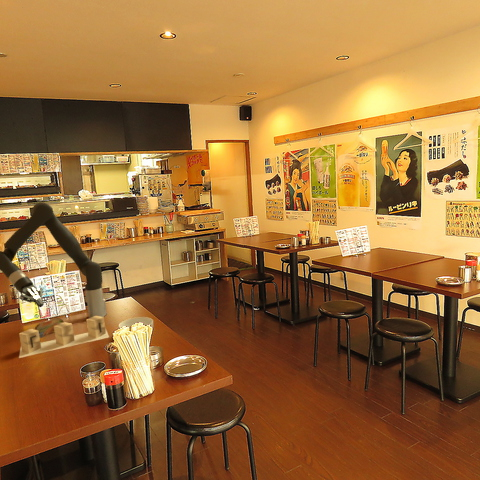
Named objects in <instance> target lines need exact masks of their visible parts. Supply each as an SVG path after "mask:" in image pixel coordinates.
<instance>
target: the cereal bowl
mask: <svg viewBox="0 0 480 480" xmlns="http://www.w3.org/2000/svg"><path fill="white" fill-rule="evenodd" d="M137 322H143V324H144V325H148V324H150V325H151V327H152V329H154V319H152V318H151V317H147V316H139V317H138V316H136V317H130V318H127V319H125V320H123V321H121V322H120V323H119V324H118V330H119V329H120V328H121V327H123V326H127V327H130V326H132V325H133V324H134V323H137Z"/></svg>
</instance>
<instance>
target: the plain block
mask: <svg viewBox="0 0 480 480" xmlns="http://www.w3.org/2000/svg"><path fill="white" fill-rule="evenodd" d="M54 331H55V333H54V336H55V338H54V339H55V340H56V344H60V345H66V344H69V343H71V342H73V341H75V340H74V335H75V334H74V327H73V323H71V322H66V321H64V322H63V323H61V324H58V325H56V326H54Z"/></svg>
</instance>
